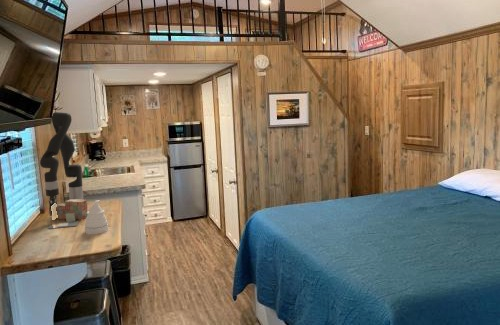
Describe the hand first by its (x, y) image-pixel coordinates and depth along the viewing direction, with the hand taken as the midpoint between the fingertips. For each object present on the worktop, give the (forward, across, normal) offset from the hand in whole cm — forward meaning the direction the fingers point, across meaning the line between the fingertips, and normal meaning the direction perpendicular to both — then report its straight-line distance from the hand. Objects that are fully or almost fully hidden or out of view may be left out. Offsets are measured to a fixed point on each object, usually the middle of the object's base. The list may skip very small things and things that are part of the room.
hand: (54, 213), depth 254 cm
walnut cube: (+1, 0, 0) cm, 1 cm away
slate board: (+6, +10, +6) cm, 13 cm away
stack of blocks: (+7, -9, +8) cm, 14 cm away
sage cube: (+6, 0, +9) cm, 11 cm away
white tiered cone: (+6, +29, +27) cm, 40 cm away
